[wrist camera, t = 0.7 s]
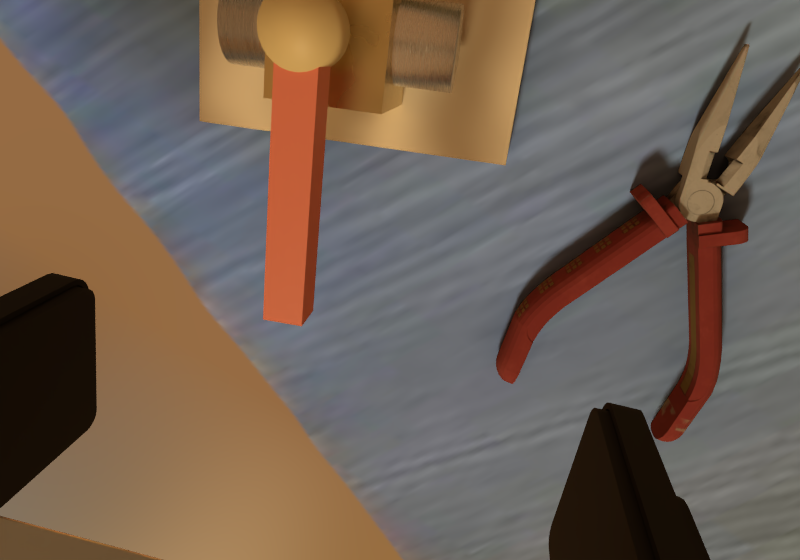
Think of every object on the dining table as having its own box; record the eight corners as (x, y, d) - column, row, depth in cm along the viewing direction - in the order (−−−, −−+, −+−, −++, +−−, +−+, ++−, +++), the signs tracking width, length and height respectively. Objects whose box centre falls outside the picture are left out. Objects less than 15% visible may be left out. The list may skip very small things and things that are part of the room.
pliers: (880, 97, 28) (915, 101, 26) (669, 430, 36) (681, 457, 33) (649, 12, 28) (663, 8, 26) (488, 360, 36) (487, 382, 34)
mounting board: (544, -57, 28) (546, -63, 26) (505, 160, 31) (505, 165, 30) (213, -92, 29) (199, -100, 28) (212, 118, 33) (199, 121, 31)
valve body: (470, -15, 27) (461, -40, 20) (452, 111, 29) (438, 127, 22) (259, -40, 28) (183, -71, 21) (255, 84, 30) (185, 92, 23)
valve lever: (276, -17, 21) (258, -24, 20) (353, -8, 21) (341, -14, 19) (264, 301, 26) (248, 317, 24) (327, 312, 26) (315, 329, 24)
